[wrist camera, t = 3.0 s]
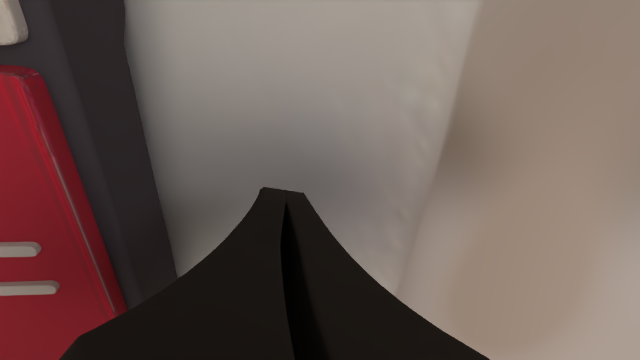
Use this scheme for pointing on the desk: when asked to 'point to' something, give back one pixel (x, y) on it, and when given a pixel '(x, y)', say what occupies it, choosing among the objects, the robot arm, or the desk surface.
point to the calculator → (71, 178)
